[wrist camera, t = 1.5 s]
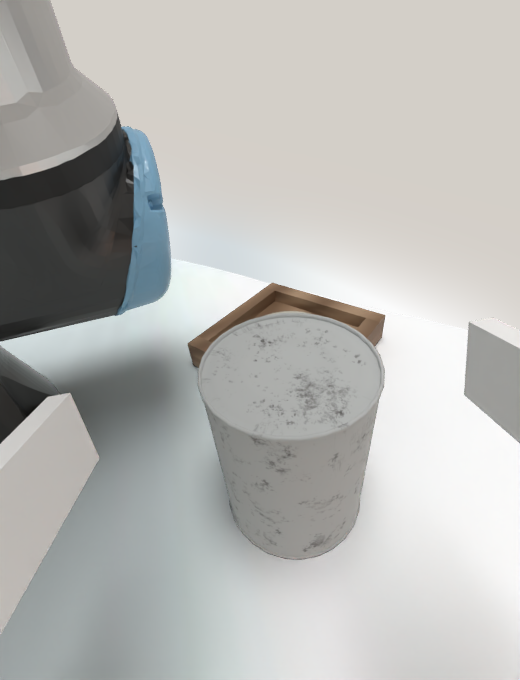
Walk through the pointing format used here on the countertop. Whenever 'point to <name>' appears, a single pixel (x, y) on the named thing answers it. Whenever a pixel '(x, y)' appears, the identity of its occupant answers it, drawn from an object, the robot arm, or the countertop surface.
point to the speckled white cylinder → (292, 427)
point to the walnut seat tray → (289, 301)
